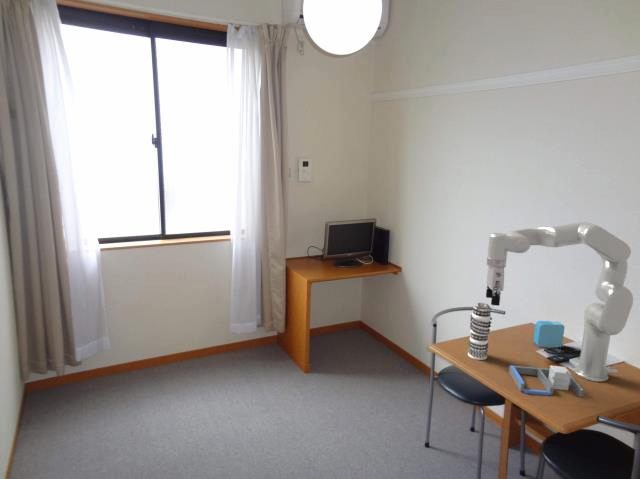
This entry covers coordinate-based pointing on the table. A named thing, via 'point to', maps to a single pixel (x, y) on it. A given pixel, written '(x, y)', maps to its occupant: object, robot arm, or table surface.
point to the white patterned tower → (479, 331)
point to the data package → (548, 334)
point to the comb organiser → (541, 375)
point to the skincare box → (559, 377)
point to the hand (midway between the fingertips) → (492, 301)
